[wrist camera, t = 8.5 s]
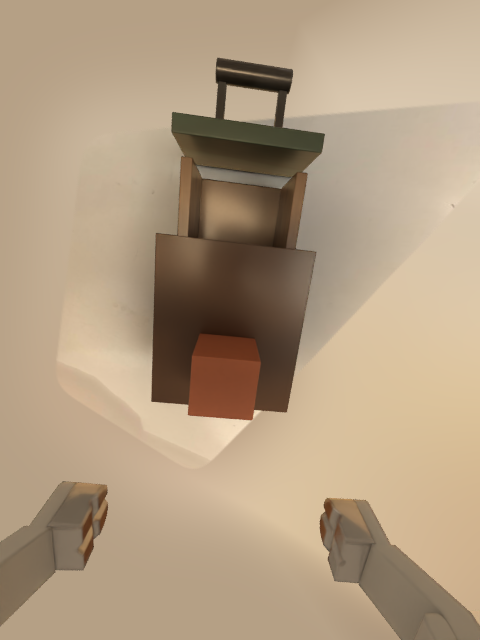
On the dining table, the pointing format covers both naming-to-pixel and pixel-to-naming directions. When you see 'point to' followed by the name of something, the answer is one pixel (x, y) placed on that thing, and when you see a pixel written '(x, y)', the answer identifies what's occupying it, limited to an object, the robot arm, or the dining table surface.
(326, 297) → the dining table surface
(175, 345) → the cabinet
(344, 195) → the dining table surface
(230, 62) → the drawer
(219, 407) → the block
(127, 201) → the dining table surface
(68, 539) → the robot arm
